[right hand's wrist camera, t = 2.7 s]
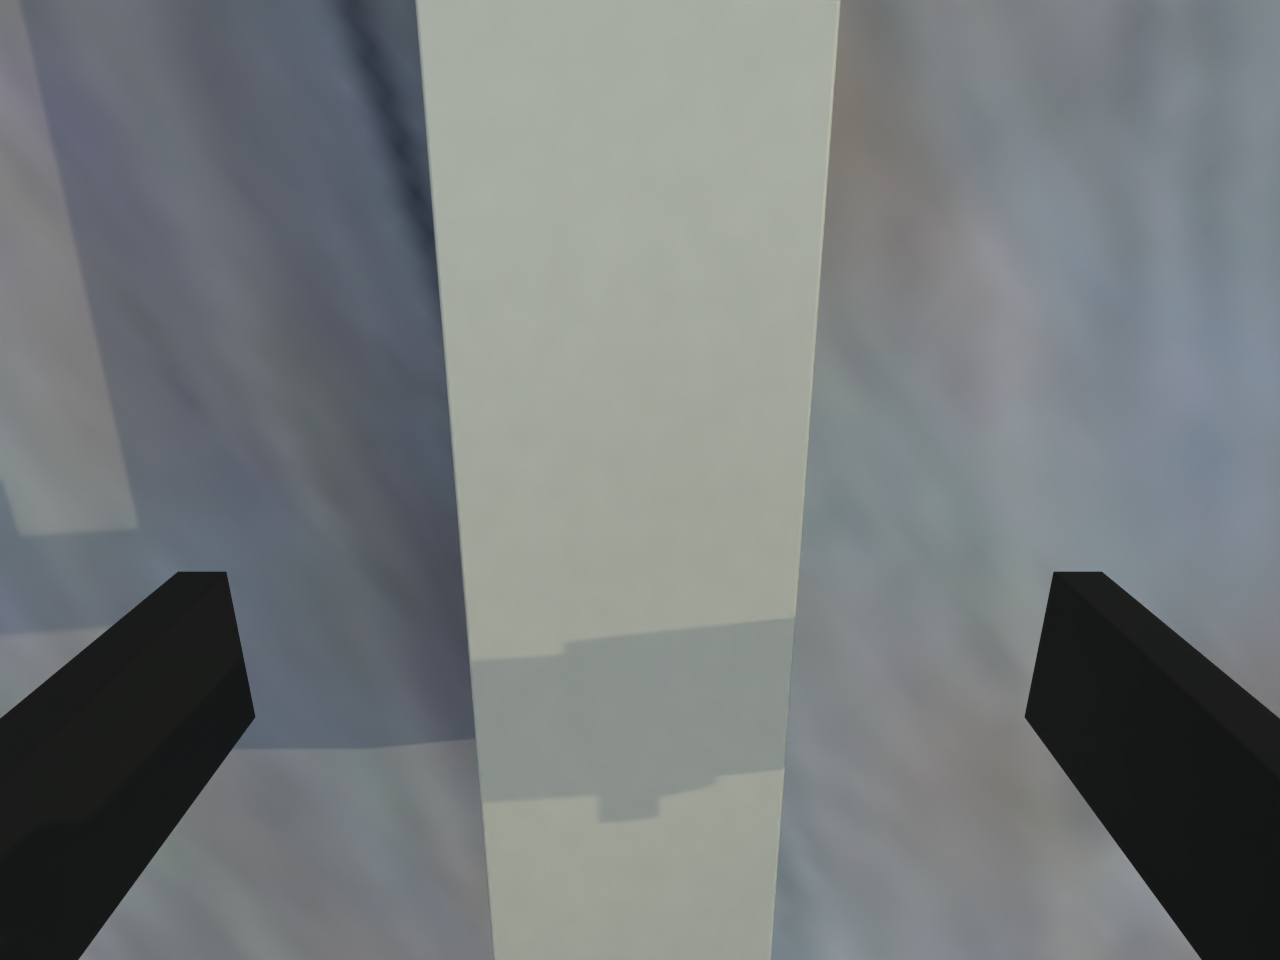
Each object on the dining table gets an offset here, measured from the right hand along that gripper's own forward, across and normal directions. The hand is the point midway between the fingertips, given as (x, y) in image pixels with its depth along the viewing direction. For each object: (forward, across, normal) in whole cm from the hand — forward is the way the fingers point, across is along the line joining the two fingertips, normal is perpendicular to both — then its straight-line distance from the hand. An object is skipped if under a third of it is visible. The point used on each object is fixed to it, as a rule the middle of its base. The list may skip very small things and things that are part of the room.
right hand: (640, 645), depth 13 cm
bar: (+8, 0, -28) cm, 29 cm away
